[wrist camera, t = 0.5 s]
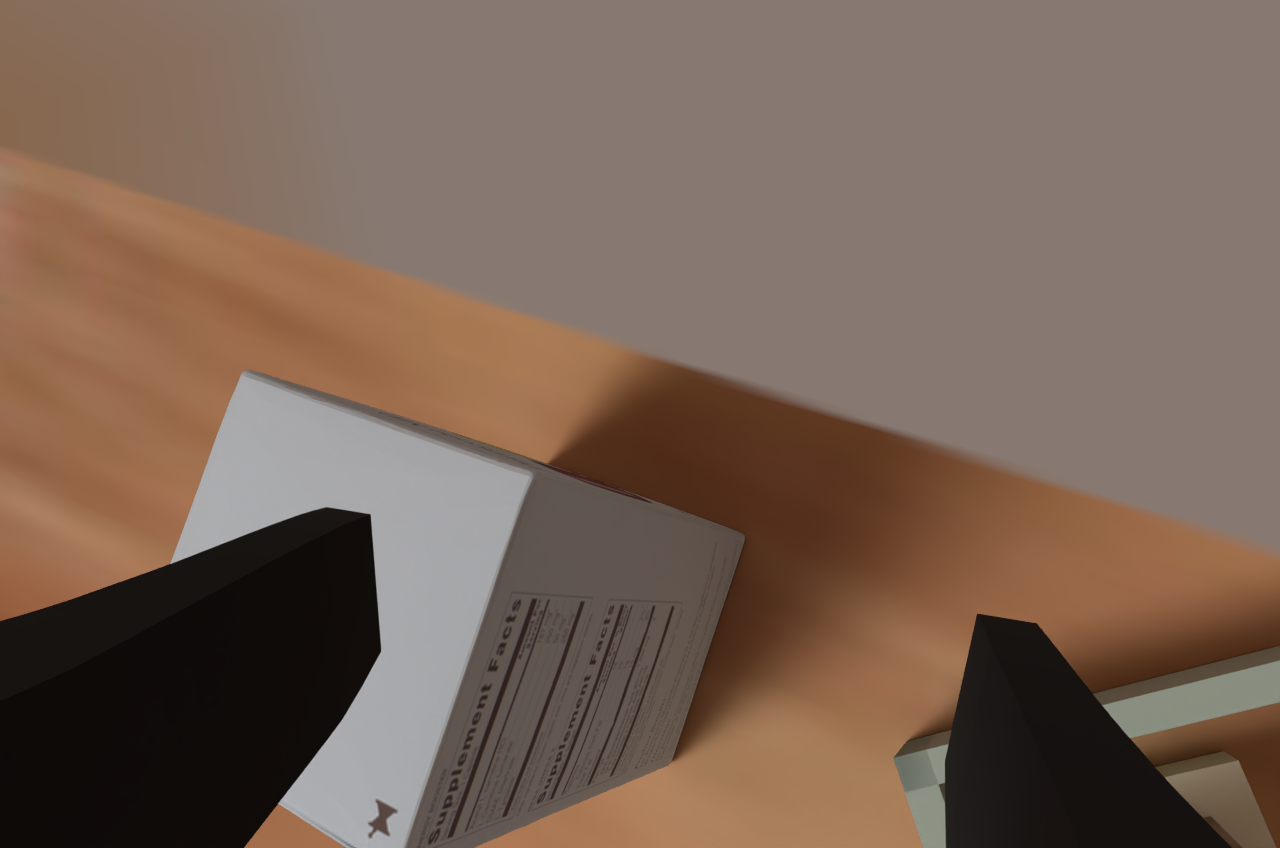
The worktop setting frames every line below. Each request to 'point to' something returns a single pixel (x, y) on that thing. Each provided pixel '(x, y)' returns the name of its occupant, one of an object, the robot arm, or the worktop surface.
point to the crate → (1141, 711)
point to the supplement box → (476, 616)
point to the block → (1222, 832)
